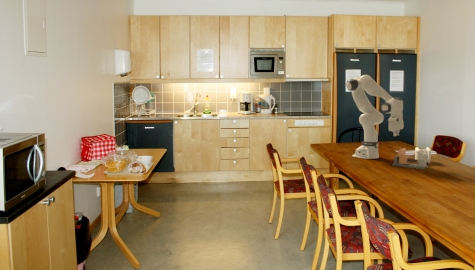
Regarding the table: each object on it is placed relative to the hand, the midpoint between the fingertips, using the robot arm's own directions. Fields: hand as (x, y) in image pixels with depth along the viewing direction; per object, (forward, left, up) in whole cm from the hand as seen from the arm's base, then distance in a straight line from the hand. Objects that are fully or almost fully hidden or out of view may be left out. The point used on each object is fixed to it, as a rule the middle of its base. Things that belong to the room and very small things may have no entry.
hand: (396, 135), depth 353 cm
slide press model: (+12, 0, -23) cm, 26 cm away
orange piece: (+7, 0, -21) cm, 22 cm away
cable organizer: (+14, +21, -23) cm, 34 cm away
